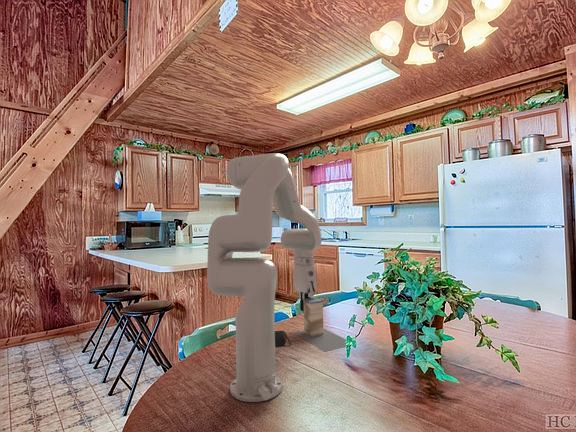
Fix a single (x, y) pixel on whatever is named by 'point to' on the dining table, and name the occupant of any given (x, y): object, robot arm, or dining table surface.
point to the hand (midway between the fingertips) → (305, 310)
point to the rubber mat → (324, 340)
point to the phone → (280, 339)
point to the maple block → (313, 316)
